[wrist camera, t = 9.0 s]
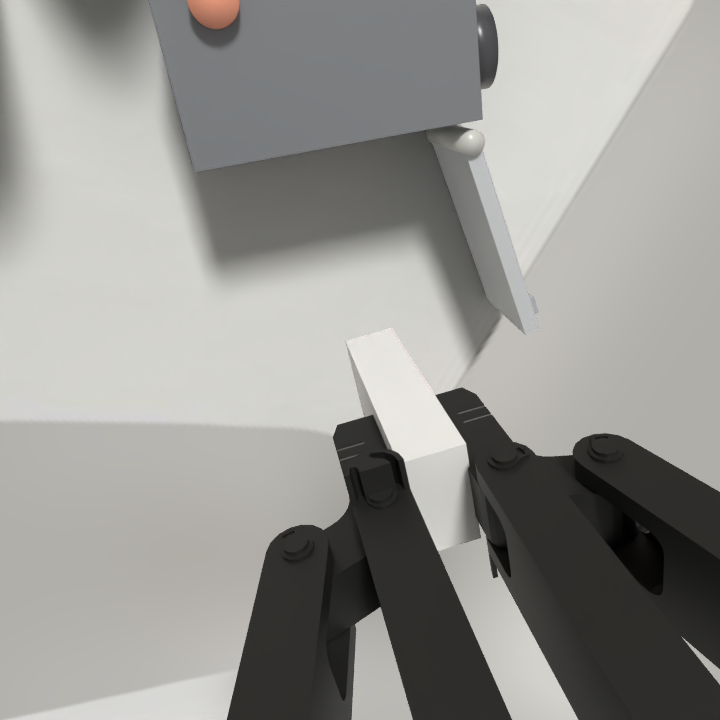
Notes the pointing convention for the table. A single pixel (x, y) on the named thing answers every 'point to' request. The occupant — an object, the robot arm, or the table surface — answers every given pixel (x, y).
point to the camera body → (320, 71)
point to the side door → (483, 222)
